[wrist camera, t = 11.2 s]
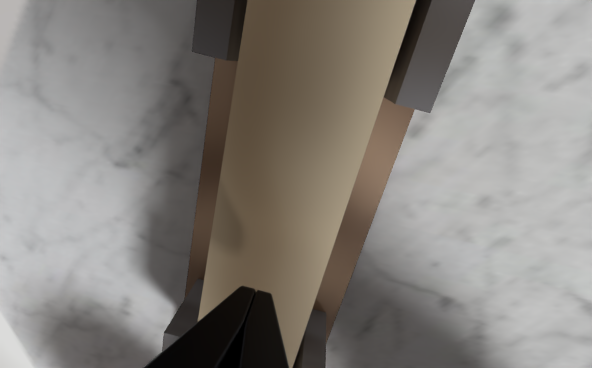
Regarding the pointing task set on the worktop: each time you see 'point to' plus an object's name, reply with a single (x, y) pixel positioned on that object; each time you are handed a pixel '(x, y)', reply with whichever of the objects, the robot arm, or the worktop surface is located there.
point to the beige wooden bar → (297, 146)
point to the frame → (373, 170)
